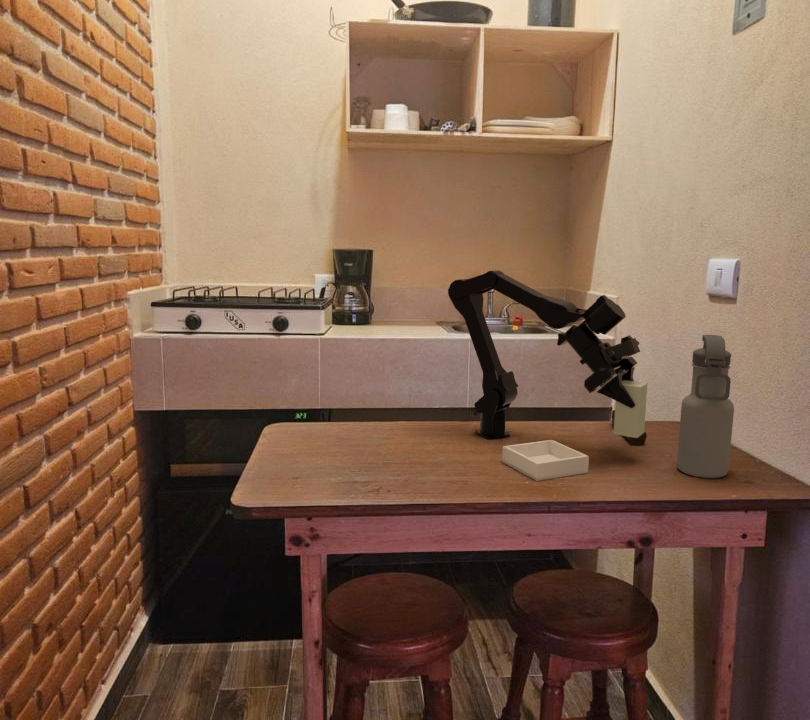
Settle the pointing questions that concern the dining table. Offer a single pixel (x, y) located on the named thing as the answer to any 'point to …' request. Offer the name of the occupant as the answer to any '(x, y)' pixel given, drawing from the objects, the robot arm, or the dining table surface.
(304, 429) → the dining table surface
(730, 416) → the water bottle
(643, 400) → the pale green tall block
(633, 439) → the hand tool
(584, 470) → the box
